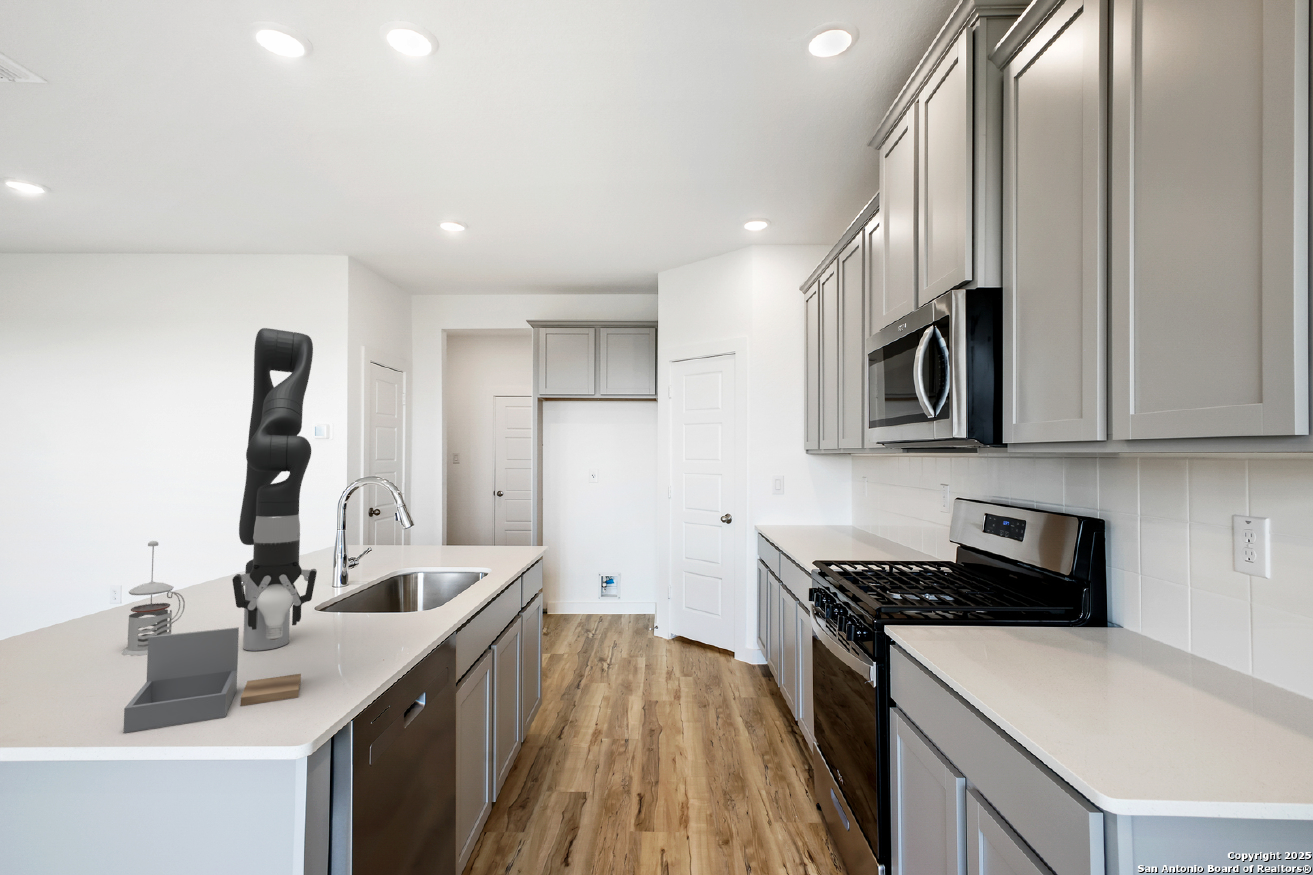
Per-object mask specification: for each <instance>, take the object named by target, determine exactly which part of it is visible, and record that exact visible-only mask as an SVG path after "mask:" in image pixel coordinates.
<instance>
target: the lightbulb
mask: <svg viewBox="0 0 1313 875" xmlns="http://www.w3.org/2000/svg"><path fill="white" fill-rule="evenodd" d="M289 590H291V589H289ZM256 603H257V605H256V606H257V608H258V610H259V611H260V612H261V614H262V615H263V617H264V621H265V624H266V628H267V630H266V631H267V632H266V633H267V634H266V635H267V636H266V638H268V639H270V640H277V639H279V638H280V637H281V636H283V635H282V634H283V633H282V632H283V631H282V630H283V629H282V628H283V622H284V620H285V617H286V614H287V612H288V611H289V609H290V610H291V608H292V607H293V604H294V603H293V595H291V594H290V592H289V591H288V590H287V589H286V588H284V586H283V585H282V584H273V585H269V586H267V587H266V589H265V590H264V591H263V592H262V593H261V594H260V596H259V598H257V601H256Z"/></svg>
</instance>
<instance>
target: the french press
mask: <svg viewBox="0 0 1313 875" xmlns="http://www.w3.org/2000/svg"><path fill="white" fill-rule="evenodd" d="M157 546H159V542H158V541H157V540H151V541H149V542H148V543H147V547H152V557H151V558H152V559H151V560H152V561H151V581H150V582H147V583H142V584H139V585H137V586H135V587H132V589H130V590H129V591H128V594H129V595H131V596H150V603H148V604H147V603H146V604H141V605H136V606H134V607H131V608H130V612H132V614H131V613H130V614H129V615H128V624H127V625H128V626H127V627H128V628H127V647H126V648H124V649H123V650H122V651H123V652H121V655H123V656H126V655H140V656H146V655H147V656H148V637H149V636H157V635H167V634H172V625H173V623H174V624H175V622H177V621H179V619H180V618H181V617H182V615H183V613H184V610H185V607H186V604H185V603H186V602H185V598H184V597H183V595H182V594H181V593H179V592H176V591H172V590H174V586H173V585H170V584H168V583H164V582H156V581H154V580H153V578H154V573H153V572H154V552H155V550H154V548H155V547H157ZM164 593H166V597H167V599H172V598H173V595H175V596H176V597H177V599H178V600H177V601H178V609H177V612H176V614H175V615H174V616H173V615H172V614H173V610H172V609H170V610H168V608H170V607H171V603H169V602H155V603H153V595H159V594H164ZM169 593H171V595H170V596H169ZM180 598H181V599H182V602H183V606H182V611H181V613H180V615H179V616H178V614H179V612H180V610H181V600H180ZM144 616H145V617H144ZM146 616H147V617H146ZM172 616H173V617H172ZM177 616H178V617H177ZM176 617H177V618H176ZM175 618H176V619H175ZM168 619H169V620H168ZM174 619H175V620H174ZM148 627H151V628H148ZM141 628H142V629H141ZM151 632H153V633H151ZM140 634H141V635H140Z"/></svg>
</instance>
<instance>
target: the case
mask: <svg viewBox="0 0 1313 875" xmlns="http://www.w3.org/2000/svg"><path fill="white" fill-rule="evenodd" d="M239 628H240V627H229V628H221V629H219V628H218V629H209V630H208V629H207V630H201V631H200V630H197V631H189V632H179V633H171V634H167V635H157V636H149V637H148V655H147V658H146V662H147V663H146V682H144V684H143V685H142V687H141V688H140V689H138V691H137V692H136V693H135V695H134V696H133V697H132V699H131V700H130V701H128V703H127V704H126V706H125V707H124V710H123V733H122V734H127V733H133V732H139V731H146V730H147V731H148V730H153V729H158V728H159V729H160V728H165V727H171V726H179V725H184V724H190V723H196V722H203V721H210V720H216V719H223V718H226V716H227V713H228V712H229V709H230V706H231V704H232V702H233V699H234V697H235V694H236V692H237V690H238V665H239V663H238V662H239V633H240V629H239Z"/></svg>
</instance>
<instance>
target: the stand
mask: <svg viewBox="0 0 1313 875" xmlns="http://www.w3.org/2000/svg"><path fill="white" fill-rule="evenodd" d="M301 681H302V673H296V674H288V675H282V676H273V677H266V678H259V679H258V678H257V679H252V680H247V681H246V684H245V686H244V688H243V691H242V693H241V695H240V704H239V705H240V707H243V706H250V705H257V704H263V703H271V702H277V701H282V700H289V699H290V698H291V699H296V698H299V694H300V690H301ZM291 699H290V700H291Z"/></svg>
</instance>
